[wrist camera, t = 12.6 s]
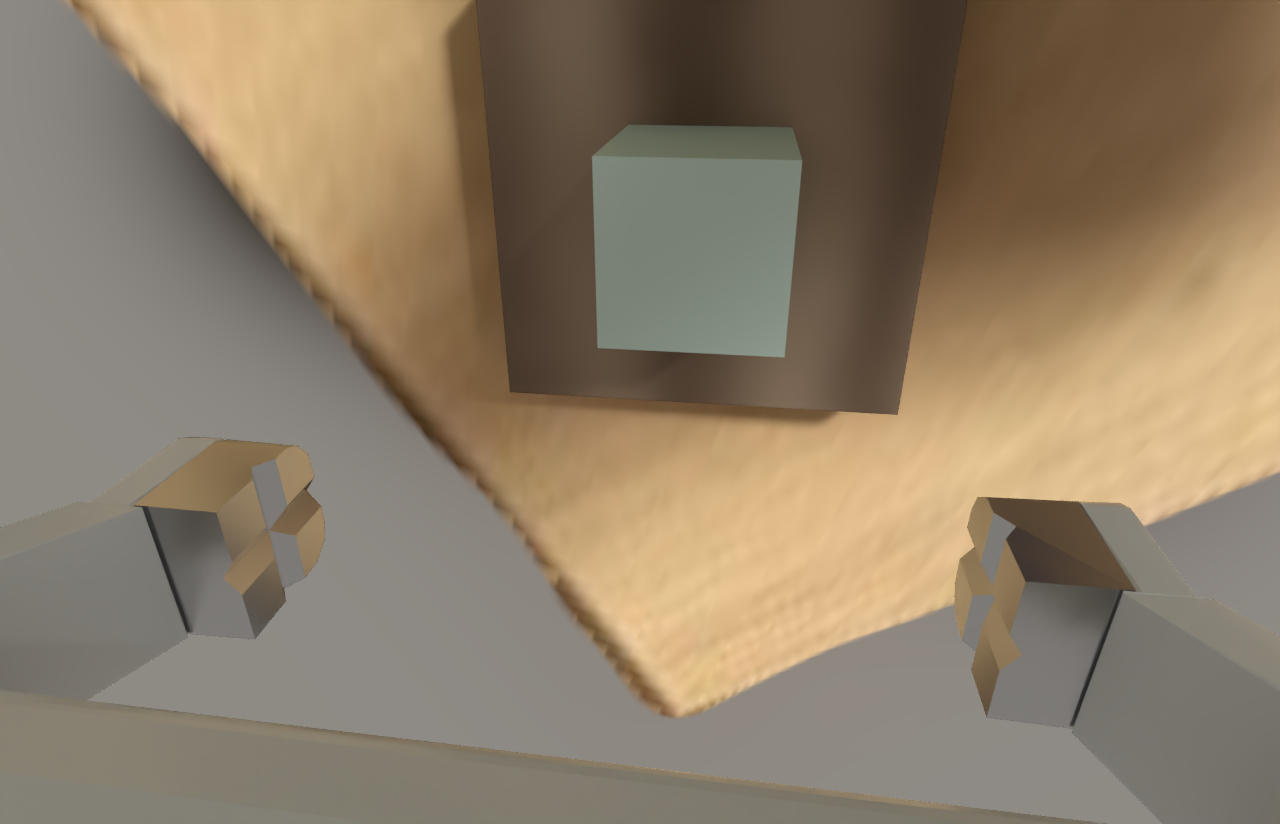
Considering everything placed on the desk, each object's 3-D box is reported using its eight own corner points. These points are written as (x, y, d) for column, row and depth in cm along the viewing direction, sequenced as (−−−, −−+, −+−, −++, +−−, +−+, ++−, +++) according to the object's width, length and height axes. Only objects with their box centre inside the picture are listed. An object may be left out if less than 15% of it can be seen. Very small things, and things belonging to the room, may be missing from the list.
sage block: (792, 127, 23) (802, 160, 18) (779, 286, 26) (784, 357, 20) (628, 124, 24) (591, 156, 19) (629, 280, 26) (597, 347, 21)
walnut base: (951, -42, 23) (975, -49, 21) (885, 379, 30) (897, 414, 27) (502, -38, 25) (472, -43, 23) (530, 360, 32) (510, 392, 29)
